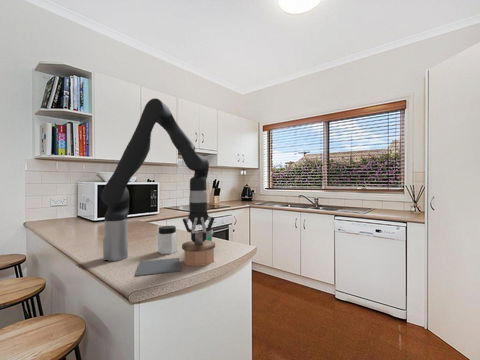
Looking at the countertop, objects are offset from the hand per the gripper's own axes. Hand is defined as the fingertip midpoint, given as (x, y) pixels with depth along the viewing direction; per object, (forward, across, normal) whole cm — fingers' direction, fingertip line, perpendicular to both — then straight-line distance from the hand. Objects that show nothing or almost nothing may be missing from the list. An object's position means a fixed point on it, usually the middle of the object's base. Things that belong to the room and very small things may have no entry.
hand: (198, 241), depth 103 cm
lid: (+2, 0, 0) cm, 2 cm away
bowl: (+8, 0, 0) cm, 8 cm away
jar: (+9, -13, +19) cm, 25 cm away
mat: (+8, -16, -2) cm, 18 cm away
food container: (+9, +6, +16) cm, 19 cm away
